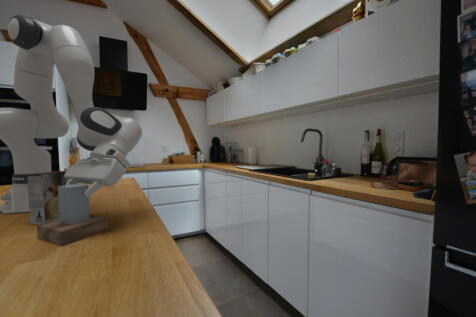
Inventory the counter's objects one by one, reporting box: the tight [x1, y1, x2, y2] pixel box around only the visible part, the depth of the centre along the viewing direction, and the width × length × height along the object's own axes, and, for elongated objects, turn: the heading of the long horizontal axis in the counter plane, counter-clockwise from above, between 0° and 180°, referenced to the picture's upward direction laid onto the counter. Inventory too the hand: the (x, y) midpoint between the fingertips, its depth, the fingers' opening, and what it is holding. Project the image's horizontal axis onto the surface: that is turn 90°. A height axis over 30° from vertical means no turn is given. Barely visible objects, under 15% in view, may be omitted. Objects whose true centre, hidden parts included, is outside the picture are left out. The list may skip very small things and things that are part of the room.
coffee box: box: [27, 170, 68, 225], centre depth 76 cm, size 9×6×16 cm
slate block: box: [58, 183, 90, 225], centre depth 64 cm, size 5×5×10 cm
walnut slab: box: [36, 213, 110, 247], centre depth 64 cm, size 12×12×4 cm
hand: (74, 194), depth 64 cm, fingers open, 8 cm apart
